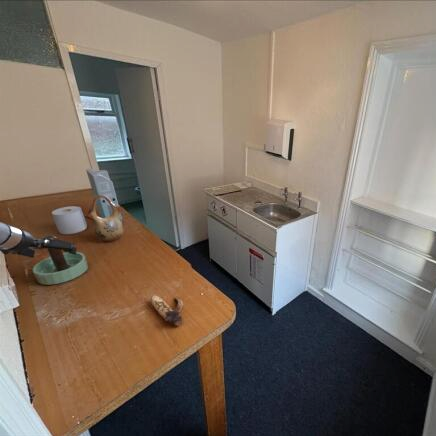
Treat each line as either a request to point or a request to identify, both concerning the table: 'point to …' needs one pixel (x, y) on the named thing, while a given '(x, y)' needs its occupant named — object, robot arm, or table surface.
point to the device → (103, 191)
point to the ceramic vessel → (106, 222)
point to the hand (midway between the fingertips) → (54, 252)
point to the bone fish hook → (168, 310)
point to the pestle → (57, 257)
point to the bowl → (48, 276)
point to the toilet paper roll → (69, 220)
